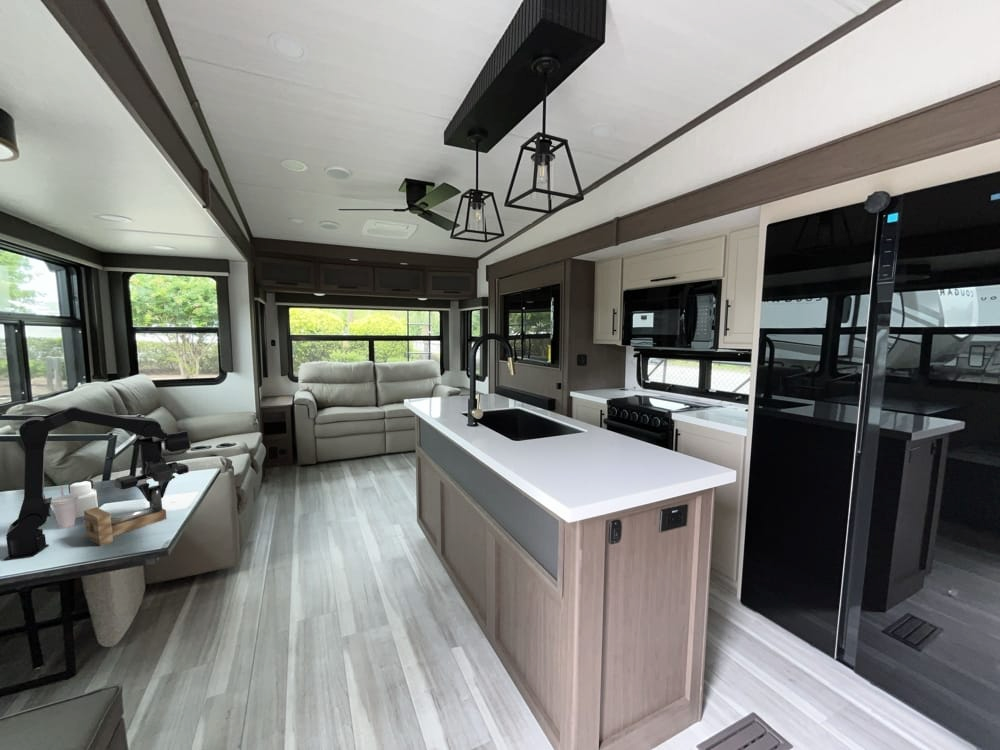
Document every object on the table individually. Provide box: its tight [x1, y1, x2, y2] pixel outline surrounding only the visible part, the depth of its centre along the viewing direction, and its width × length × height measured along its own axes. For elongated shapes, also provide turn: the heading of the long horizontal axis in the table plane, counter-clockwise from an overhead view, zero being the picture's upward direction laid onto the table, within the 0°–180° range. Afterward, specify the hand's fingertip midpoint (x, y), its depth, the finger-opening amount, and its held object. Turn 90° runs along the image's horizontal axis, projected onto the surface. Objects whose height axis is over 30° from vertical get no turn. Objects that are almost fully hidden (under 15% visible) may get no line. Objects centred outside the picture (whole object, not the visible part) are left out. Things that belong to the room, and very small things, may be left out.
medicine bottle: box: [68, 479, 99, 519], centre depth 143 cm, size 7×7×12 cm
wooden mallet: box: [84, 507, 167, 547], centre depth 132 cm, size 18×10×9 cm, turn 152°
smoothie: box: [50, 485, 78, 530], centre depth 134 cm, size 6×6×14 cm
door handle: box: [111, 485, 163, 525], centre depth 134 cm, size 13×3×8 cm, turn 152°
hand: (155, 499), depth 138 cm, fingers closed on door handle, 3 cm apart
